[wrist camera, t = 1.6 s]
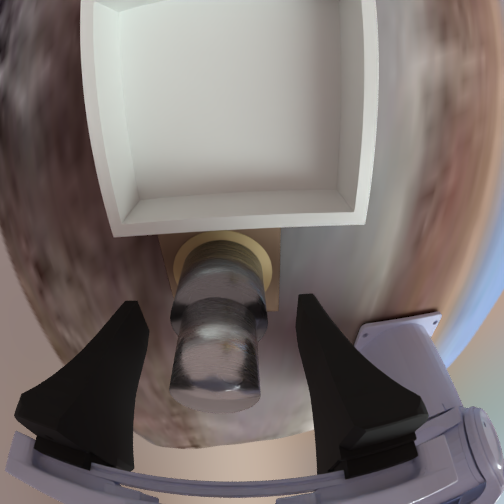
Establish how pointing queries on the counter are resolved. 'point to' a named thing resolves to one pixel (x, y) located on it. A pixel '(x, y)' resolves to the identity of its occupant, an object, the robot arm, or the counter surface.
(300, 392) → the counter surface
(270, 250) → the stud block
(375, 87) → the bin
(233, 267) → the silver metal knob
